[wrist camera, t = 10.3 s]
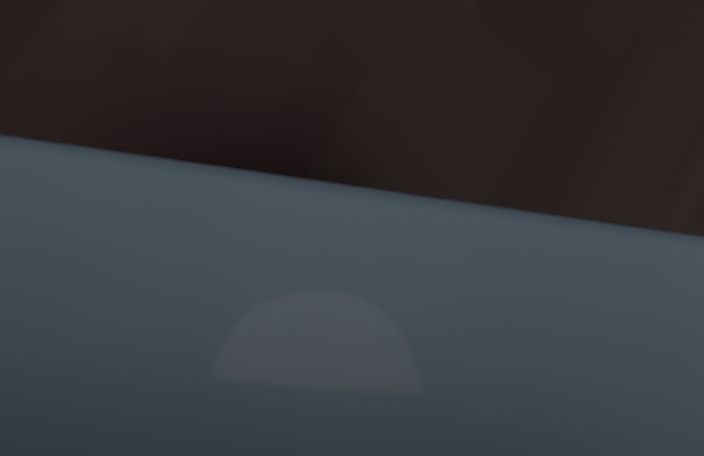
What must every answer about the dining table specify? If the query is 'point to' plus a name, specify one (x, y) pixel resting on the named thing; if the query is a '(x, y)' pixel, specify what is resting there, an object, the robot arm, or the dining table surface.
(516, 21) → the dining table surface
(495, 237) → the packet
